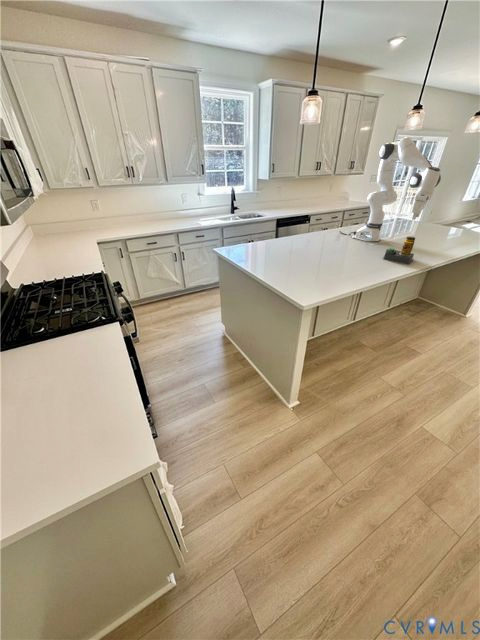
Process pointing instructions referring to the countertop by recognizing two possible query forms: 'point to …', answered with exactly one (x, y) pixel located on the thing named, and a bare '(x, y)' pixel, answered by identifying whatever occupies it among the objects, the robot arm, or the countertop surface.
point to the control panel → (397, 257)
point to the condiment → (407, 246)
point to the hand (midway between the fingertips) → (415, 218)
